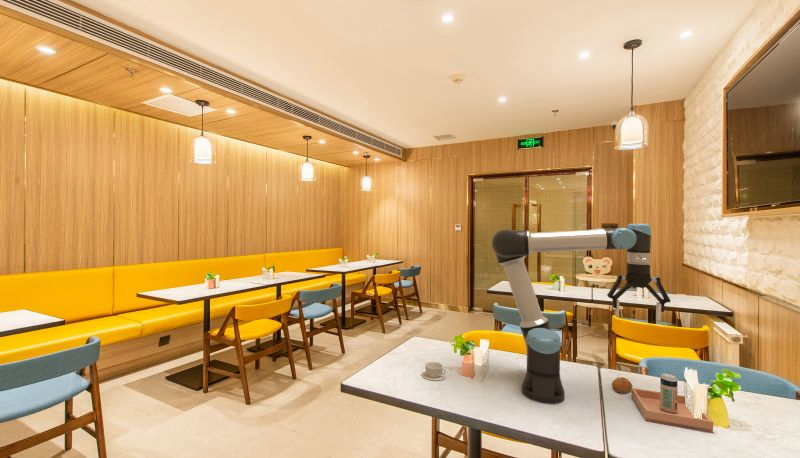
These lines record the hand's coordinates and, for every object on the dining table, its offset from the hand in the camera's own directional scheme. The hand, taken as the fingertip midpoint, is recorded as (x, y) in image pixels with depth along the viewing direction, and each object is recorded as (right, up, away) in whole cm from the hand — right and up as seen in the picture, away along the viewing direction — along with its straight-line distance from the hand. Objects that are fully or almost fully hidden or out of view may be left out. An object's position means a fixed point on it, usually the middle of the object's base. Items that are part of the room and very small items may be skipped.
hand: (637, 318), depth 134 cm
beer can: (0, -28, -15) cm, 32 cm away
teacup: (-78, -28, +12) cm, 83 cm away
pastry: (-4, -29, +3) cm, 30 cm away
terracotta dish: (0, -29, -15) cm, 32 cm away
